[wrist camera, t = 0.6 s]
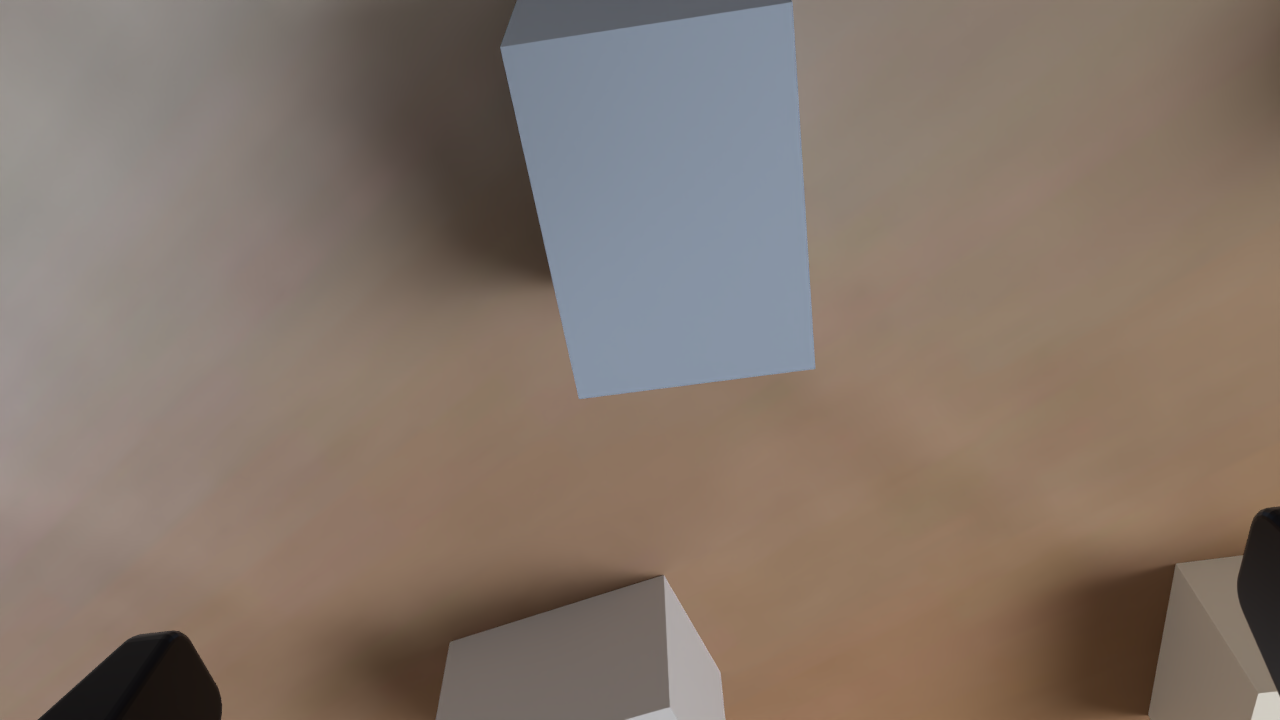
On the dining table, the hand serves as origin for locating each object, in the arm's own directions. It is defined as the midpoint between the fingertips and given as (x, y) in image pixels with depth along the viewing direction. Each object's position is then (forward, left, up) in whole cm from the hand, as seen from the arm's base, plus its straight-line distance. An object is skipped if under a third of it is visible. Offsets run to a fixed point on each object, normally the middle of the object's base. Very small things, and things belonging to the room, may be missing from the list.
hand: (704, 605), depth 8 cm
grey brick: (+4, +14, -12) cm, 19 cm away
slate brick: (0, 0, -12) cm, 12 cm away
